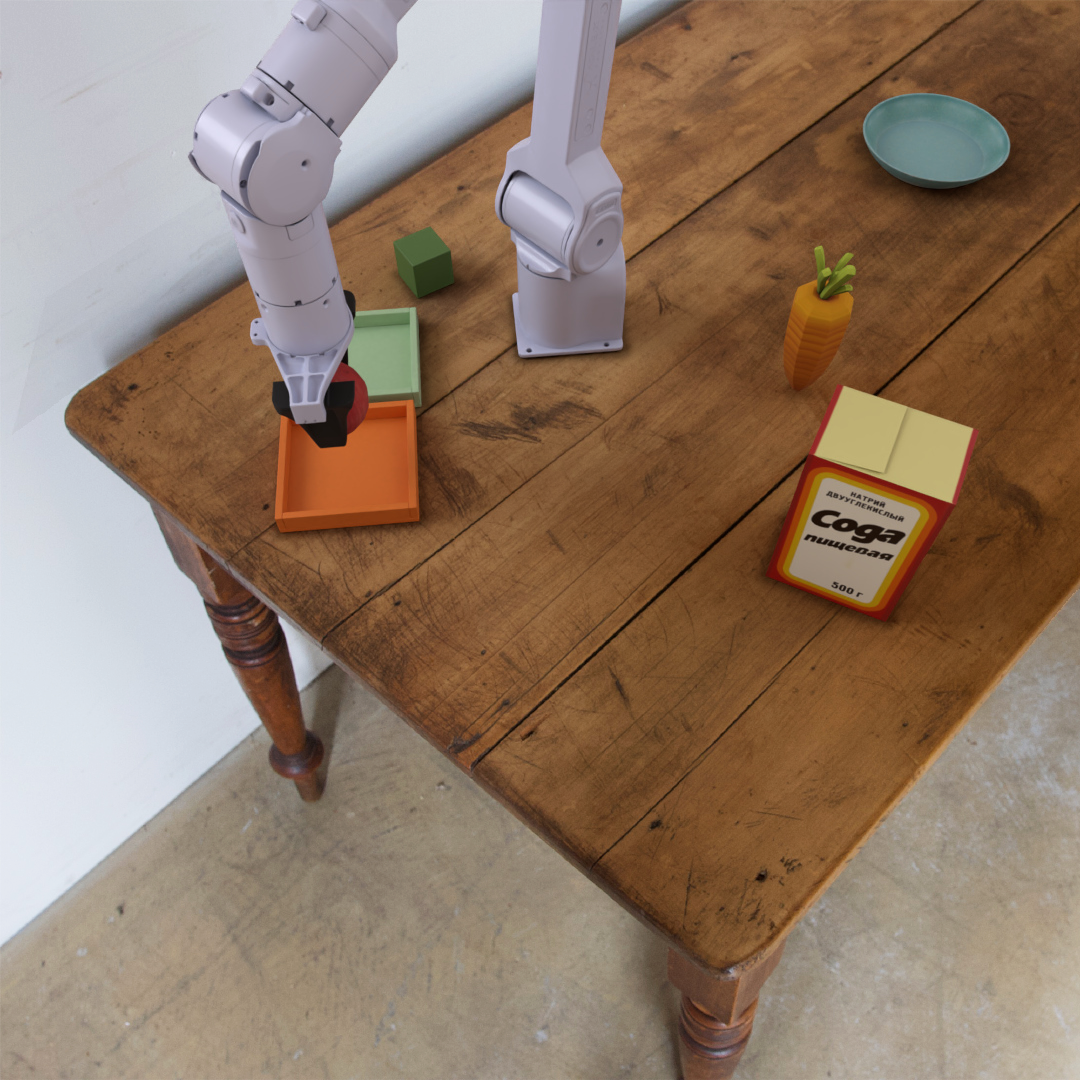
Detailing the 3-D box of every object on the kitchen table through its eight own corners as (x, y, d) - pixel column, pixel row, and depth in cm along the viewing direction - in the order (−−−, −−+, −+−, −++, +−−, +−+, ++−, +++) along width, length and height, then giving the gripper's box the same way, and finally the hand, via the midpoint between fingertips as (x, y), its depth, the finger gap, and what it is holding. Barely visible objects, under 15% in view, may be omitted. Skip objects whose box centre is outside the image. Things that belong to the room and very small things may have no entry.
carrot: (762, 370, 89) (797, 237, 76) (817, 366, 89) (861, 232, 76) (774, 413, 86) (812, 282, 73) (831, 409, 86) (879, 278, 73)
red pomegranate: (362, 465, 76) (344, 397, 70) (291, 453, 77) (266, 385, 70) (384, 408, 80) (368, 337, 73) (315, 397, 80) (293, 326, 73)
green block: (434, 258, 97) (430, 225, 93) (454, 282, 95) (451, 250, 92) (398, 274, 96) (392, 241, 92) (417, 299, 94) (412, 266, 90)
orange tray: (416, 414, 86) (413, 399, 85) (419, 521, 80) (416, 507, 79) (286, 424, 86) (281, 409, 84) (280, 533, 80) (274, 519, 78)
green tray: (418, 322, 92) (416, 306, 91) (421, 406, 87) (418, 391, 85) (308, 330, 92) (303, 315, 90) (304, 416, 86) (299, 401, 85)
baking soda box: (907, 555, 78) (981, 426, 65) (885, 622, 75) (958, 501, 61) (791, 512, 80) (839, 380, 67) (765, 576, 77) (809, 449, 64)
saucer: (1019, 142, 105) (1030, 119, 103) (972, 222, 99) (982, 200, 96) (888, 98, 110) (895, 75, 107) (834, 171, 103) (840, 149, 101)
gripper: (240, 207, 69) (285, 344, 80) (224, 363, 61) (276, 491, 72) (342, 199, 69) (373, 338, 80) (339, 354, 61) (373, 483, 73)
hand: (333, 410), depth 76 cm, fingers closed on red pomegranate, 6 cm apart
